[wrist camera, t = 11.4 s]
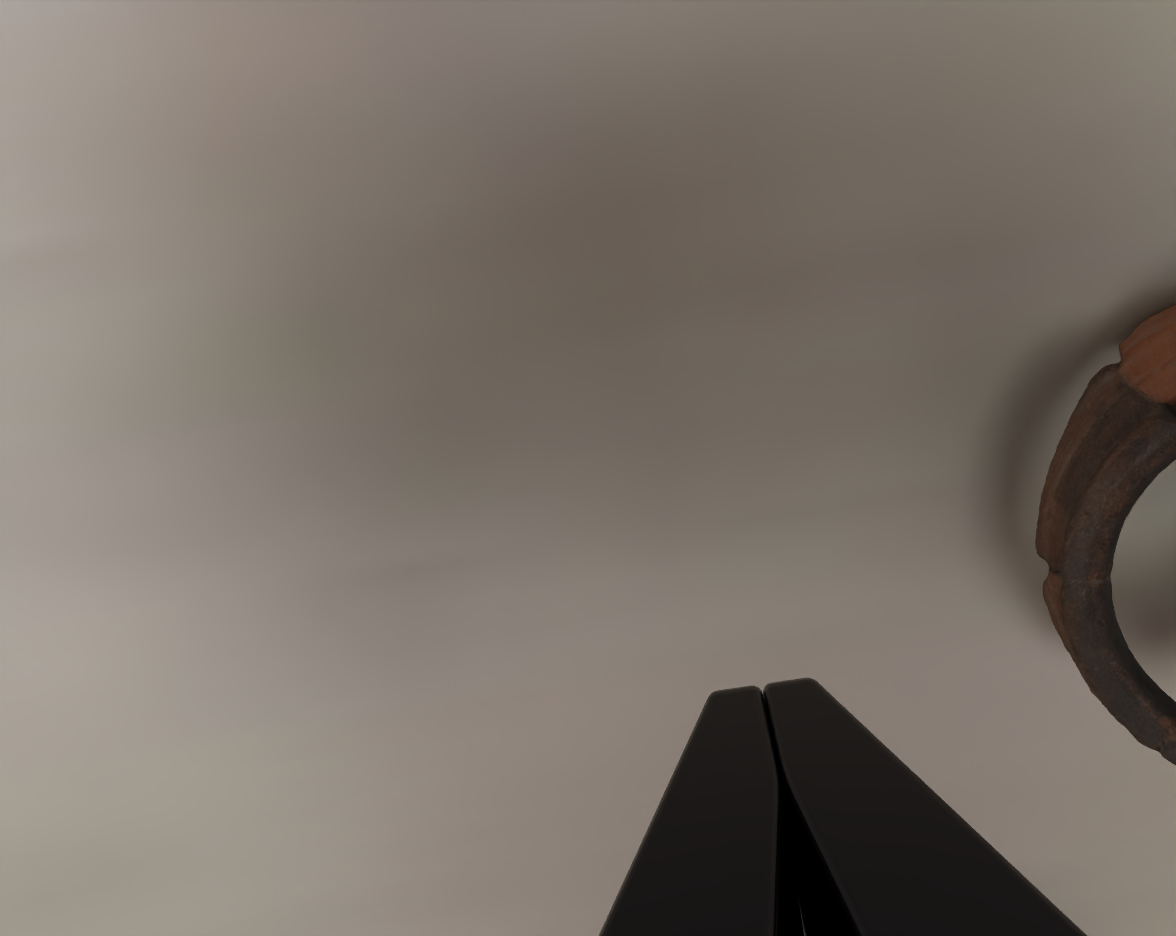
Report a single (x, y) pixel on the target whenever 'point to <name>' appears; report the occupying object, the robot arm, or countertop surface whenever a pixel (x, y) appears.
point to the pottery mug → (1110, 520)
